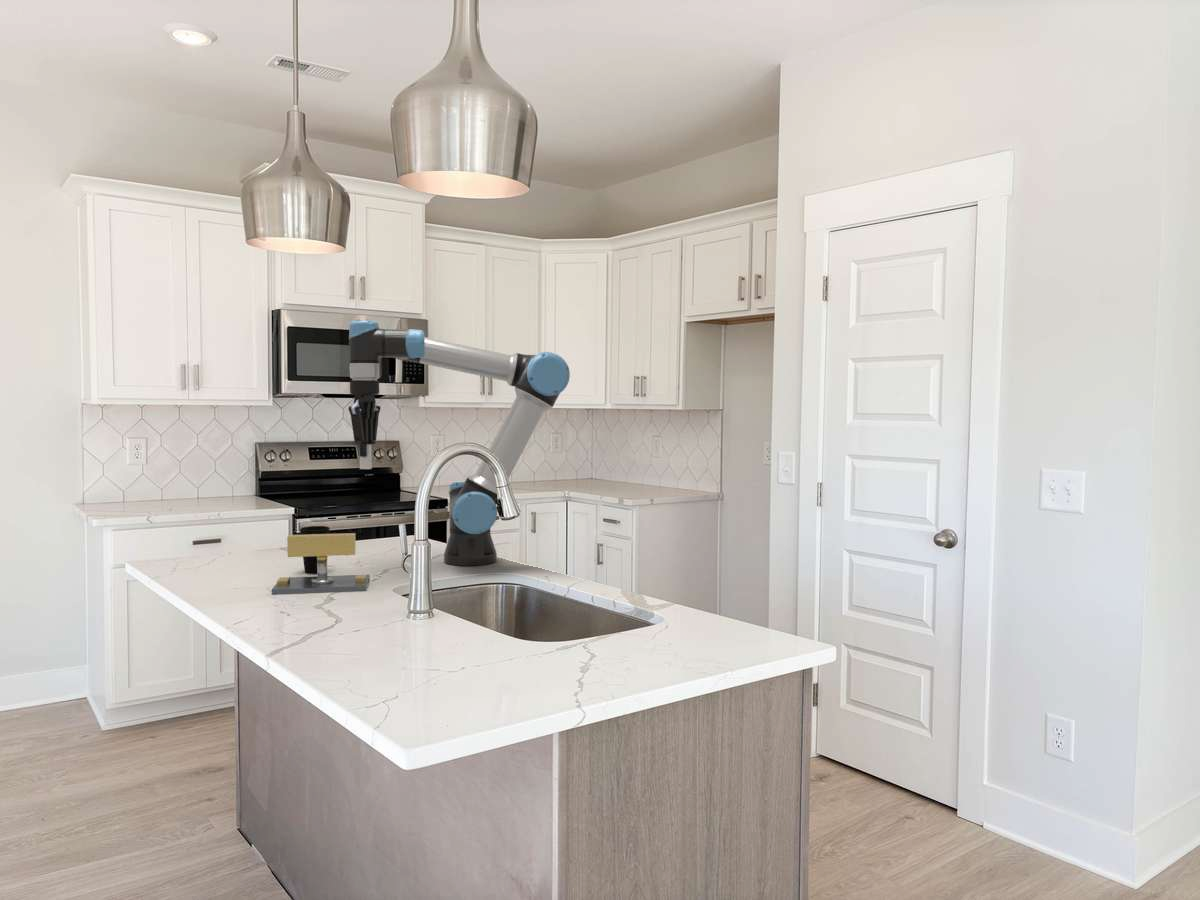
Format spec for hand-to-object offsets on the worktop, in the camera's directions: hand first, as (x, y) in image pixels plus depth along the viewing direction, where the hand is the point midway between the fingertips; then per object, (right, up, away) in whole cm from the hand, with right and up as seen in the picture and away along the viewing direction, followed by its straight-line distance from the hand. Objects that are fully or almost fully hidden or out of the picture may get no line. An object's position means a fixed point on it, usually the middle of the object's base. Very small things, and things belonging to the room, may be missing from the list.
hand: (365, 468), depth 234 cm
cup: (-15, -28, +5) cm, 32 cm away
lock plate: (-7, -29, -13) cm, 33 cm away
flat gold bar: (-7, -23, -13) cm, 27 cm away
